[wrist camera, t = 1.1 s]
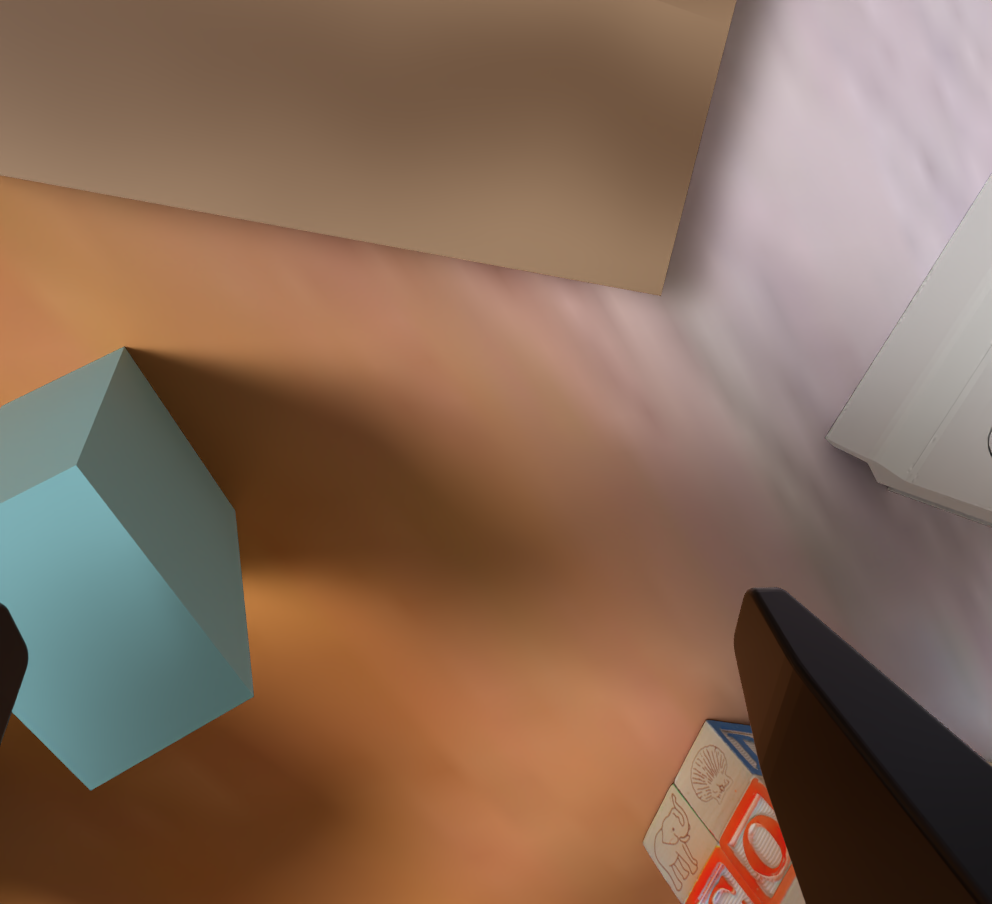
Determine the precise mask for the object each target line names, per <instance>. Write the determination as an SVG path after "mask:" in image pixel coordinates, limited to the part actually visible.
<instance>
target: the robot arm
mask: <svg viewBox="0 0 992 904" xmlns="http://www.w3.org/2000/svg"><path fill="white" fill-rule="evenodd" d="M734 650H735V656H736V660H737V665H738V669H739V674H740V679H741V683H742V688H743V693H744V697H745V702H746V706H747V711H748V716H749V720H750V725H751V729H752V734H753V739H754V743H755V748H756V752H757V756H758V761H759V765H760V769H761V772H762V775H763V779H764V782H765V785H766V788H767V791H768V794H769V797H770V800H771V803H772V806H773V809H774V812H775V815H776V818H777V821H778V824H779V827H780V830H781V833H782V836H783V839H784V842H785V845H786V848H787V850H788V853H789V856H790V859H791V862H792V865H793V868H794V871H795V874H796V877H797V880H798V883H799V886H800V889H801V892H802V895H803V898H804V901H805V904H992V766H991V765H990V764H989V763H988V762H986V761H985V760H984V759H983V758H982V757H981V756H979V755H978V754H977V753H976V752H975V751H973V750H972V749H971V748H970V747H969V746H968V745H966V744H965V743H964V742H963V741H962V740H961V739H959V738H958V737H957V736H956V735H955V734H953V733H952V732H951V731H950V730H949V729H948V728H946V727H945V726H944V725H943V724H942V723H941V722H939V721H938V720H937V719H936V718H935V717H933V716H932V715H931V714H930V713H929V712H928V711H926V710H925V709H924V708H923V707H922V706H921V705H919V704H918V703H917V702H916V701H915V700H914V699H912V698H911V697H910V696H909V695H908V694H906V693H905V692H904V691H903V690H902V689H901V688H899V687H898V686H897V685H896V684H895V683H894V682H892V681H891V680H890V679H889V678H888V677H886V676H885V675H884V674H883V673H882V672H881V671H879V670H878V669H877V668H876V667H875V666H874V665H872V664H871V663H870V662H869V661H868V660H866V659H865V658H864V657H863V656H862V655H861V654H859V653H858V652H857V651H856V650H855V649H854V648H852V647H851V646H850V645H849V644H848V643H847V642H845V641H844V640H843V639H842V638H841V637H839V636H838V635H837V634H836V633H835V632H834V631H832V630H831V629H830V628H829V627H828V626H827V625H825V624H824V623H823V622H822V621H821V620H819V619H818V618H817V617H816V616H815V615H814V614H812V613H811V612H810V611H809V610H808V609H807V608H805V607H804V606H803V605H802V604H801V603H799V602H798V601H797V600H796V599H795V598H794V597H792V596H791V595H790V594H789V593H788V592H786V591H785V590H783V589H781V588H777V587H772V588H751V589H749V590H747V592H746V593H745V595H744V598H743V602H742V606H741V610H740V614H739V618H738V622H737V626H736V630H735V634H734ZM27 666H28V649H27V646H26V643H25V641H24V639H23V637H22V635H21V633H20V631H19V629H18V627H17V625H16V623H15V622H14V620H13V618H12V616H11V614H10V612H9V610H8V608H7V607H6V606H5V605H3V604H2V603H0V745H1V742H2V739H3V736H4V733H5V730H6V728H7V725H8V722H9V719H10V716H11V713H12V710H13V707H14V704H15V701H16V699H17V696H18V693H19V690H20V687H21V684H22V681H23V678H24V675H25V672H26V670H27Z"/></svg>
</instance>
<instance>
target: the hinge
mask: <svg viewBox="0 0 992 904" xmlns="http://www.w3.org/2000/svg"><path fill="white" fill-rule="evenodd" d="M825 439H826V440H827V441H828V442H829V443H830V444H831V445H832V446H834V447H836V448H838V449H840V450H842V451H844V452H846V453H849V454H851V455H853V456H855V457H857V458H859V459H861V460H863V461H865V462H867V463H868V465H869V467H870V469H871V471H872V473H873V475H874V477H875V479H876V481H877V482H878V483H881V484H883V485H886V486H889V487H888V489H887V490H889V491H892V492H895V493H898V494H900V495H903V496H906V497H909V498H911V499H914V500H917V501H920V502H923V503H925V504H928V505H931V506H934V507H936V508H939V509H942V510H945V511H948V512H950V513H953V514H956V515H959V516H961V517H964V518H967V519H970V520H972V521H975V522H978V523H981V524H984V525H986V526H989V527H992V174H991V176H990V177H989V179H988V180H987V182H986V184H985V185H984V187H983V188H982V190H981V192H980V193H979V195H978V196H977V198H976V199H975V201H974V203H973V204H972V206H971V207H970V209H969V211H968V212H967V214H966V215H965V217H964V218H963V220H962V222H961V223H960V225H959V226H958V228H957V230H956V231H955V233H954V234H953V236H952V237H951V239H950V241H949V242H948V244H947V245H946V247H945V249H944V250H943V252H942V253H941V255H940V256H939V258H938V260H937V261H936V263H935V264H934V266H933V268H932V269H931V271H930V272H929V274H928V276H927V277H926V279H925V280H924V282H923V283H922V285H921V287H920V288H919V290H918V291H917V293H916V295H915V296H914V298H913V299H912V301H911V302H910V304H909V306H908V307H907V309H906V310H905V312H904V314H903V315H902V317H901V318H900V320H899V321H898V323H897V325H896V326H895V328H894V329H893V331H892V333H891V334H890V336H889V337H888V339H887V340H886V342H885V344H884V345H883V347H882V348H881V350H880V352H879V353H878V355H877V356H876V358H875V360H874V361H873V363H872V364H871V366H870V367H869V369H868V371H867V372H866V374H865V375H864V377H863V379H862V380H861V382H860V383H859V385H858V386H857V388H856V390H855V391H854V393H853V394H852V396H851V398H850V399H849V401H848V402H847V404H846V405H845V407H844V409H843V410H842V412H841V413H840V415H839V417H838V418H837V420H836V421H835V423H834V424H833V426H832V428H831V429H830V431H829V432H828V434H827V436H826V437H825Z"/></svg>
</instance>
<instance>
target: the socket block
mask: <svg viewBox="0 0 992 904" xmlns="http://www.w3.org/2000/svg"><path fill="white" fill-rule="evenodd" d="M735 4H736V0H0V175H2V176H7V177H13V178H18V179H24V180H29V181H35V182H40V183H46V184H51V185H57V186H62V187H68V188H73V189H79V190H84V191H90V192H95V193H101V194H106V195H111V196H117V197H122V198H128V199H133V200H139V201H144V202H150V203H155V204H161V205H166V206H172V207H177V208H183V209H188V210H194V211H199V212H205V213H210V214H216V215H221V216H226V217H232V218H237V219H243V220H248V221H254V222H259V223H265V224H270V225H276V226H281V227H287V228H292V229H298V230H303V231H309V232H314V233H320V234H325V235H331V236H336V237H341V238H347V239H352V240H358V241H363V242H369V243H374V244H380V245H385V246H391V247H396V248H402V249H407V250H413V251H418V252H424V253H429V254H435V255H440V256H446V257H451V258H456V259H462V260H467V261H473V262H478V263H484V264H489V265H495V266H500V267H506V268H511V269H517V270H522V271H528V272H533V273H539V274H544V275H550V276H555V277H561V278H566V279H571V280H577V281H582V282H588V283H593V284H599V285H604V286H610V287H615V288H621V289H626V290H632V291H637V292H643V293H648V294H654V295H659V296H661V293H662V289H663V285H664V281H665V277H666V273H667V270H668V266H669V262H670V258H671V254H672V250H673V246H674V242H675V238H676V234H677V231H678V227H679V223H680V219H681V215H682V211H683V207H684V203H685V199H686V195H687V192H688V188H689V184H690V180H691V176H692V172H693V168H694V164H695V160H696V156H697V153H698V149H699V145H700V141H701V137H702V133H703V129H704V125H705V121H706V117H707V114H708V110H709V106H710V102H711V98H712V94H713V90H714V86H715V82H716V78H717V75H718V71H719V67H720V63H721V59H722V55H723V51H724V47H725V43H726V39H727V36H728V32H729V28H730V24H731V20H732V16H733V12H734V8H735Z"/></svg>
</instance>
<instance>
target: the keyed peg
mask: <svg viewBox="0 0 992 904" xmlns="http://www.w3.org/2000/svg"><path fill="white" fill-rule="evenodd" d="M0 603H2V604H3V605H5V606H6V607H7V608H8V610H9V612H10V614H11V616H12V618H13V620H14V622H15V623H16V625H17V627H18V629H19V631H20V633H21V635H22V637H23V639H24V641H25V643H26V646H27V649H28V666H27V670H26V672H25V675H24V678H23V681H22V684H21V687H20V690H19V693H18V696H17V699H16V701H15V704H14V707H13V710H12V713H13V714H14V715H15V716H16V717H17V718H18V719H19V720H20V721H21V722H22V723H23V724H24V725H25V726H26V727H27V728H28V729H29V730H30V731H31V732H32V733H33V734H34V735H35V736H36V737H37V738H38V739H39V740H40V741H41V742H42V743H43V744H44V745H45V746H46V747H47V748H48V749H49V750H50V751H51V752H52V753H53V754H54V755H55V756H56V757H57V758H58V759H59V760H60V761H61V762H62V763H63V764H64V765H65V766H66V767H67V768H68V769H69V770H70V771H71V772H72V773H73V774H74V775H75V776H76V777H77V778H78V779H79V780H80V781H81V782H82V783H83V784H84V785H85V786H86V787H87V788H88V789H89V790H90V791H91V790H93V789H94V788H96V787H98V786H100V785H101V784H103V783H105V782H107V781H108V780H110V779H112V778H114V777H115V776H117V775H119V774H120V773H122V772H124V771H126V770H127V769H129V768H131V767H133V766H134V765H136V764H138V763H140V762H141V761H143V760H145V759H146V758H148V757H150V756H152V755H153V754H155V753H157V752H159V751H160V750H162V749H164V748H165V747H167V746H169V745H171V744H172V743H174V742H176V741H178V740H179V739H181V738H183V737H185V736H186V735H188V734H190V733H191V732H193V731H195V730H197V729H198V728H200V727H202V726H204V725H205V724H207V723H209V722H210V721H212V720H214V719H216V718H217V717H219V716H221V715H223V714H224V713H226V712H228V711H230V710H231V709H233V708H235V707H236V706H238V705H240V704H242V703H243V702H245V701H247V700H249V699H250V698H252V697H254V692H253V682H252V672H251V662H250V652H249V642H248V632H247V622H246V612H245V602H244V592H243V583H242V573H241V563H240V553H239V543H238V533H237V523H236V513H235V510H234V508H233V507H232V505H231V504H230V502H229V501H228V499H227V498H226V496H225V495H224V493H223V492H222V490H221V489H220V487H219V486H218V484H217V483H216V482H215V480H214V479H213V477H212V476H211V474H210V473H209V471H208V470H207V468H206V467H205V465H204V464H203V462H202V461H201V459H200V458H199V456H198V455H197V453H196V452H195V450H194V449H193V447H192V446H191V444H190V443H189V441H188V440H187V439H186V437H185V436H184V434H183V433H182V431H181V430H180V428H179V427H178V425H177V424H176V422H175V421H174V419H173V418H172V416H171V415H170V413H169V412H168V410H167V409H166V407H165V406H164V404H163V403H162V401H161V400H160V398H159V397H158V396H157V394H156V393H155V391H154V390H153V388H152V387H151V385H150V384H149V382H148V381H147V379H146V378H145V376H144V375H143V373H142V372H141V370H140V369H139V367H138V366H137V364H136V363H135V361H134V360H133V358H132V357H131V355H130V354H129V353H128V351H127V350H126V348H125V347H122V348H120V349H118V350H116V351H114V352H112V353H110V354H108V355H106V356H104V357H102V358H100V359H98V360H96V361H94V362H91V363H89V364H87V365H85V366H83V367H81V368H79V369H77V370H75V371H73V372H71V373H69V374H67V375H65V376H63V377H61V378H59V379H57V380H54V381H52V382H50V383H48V384H46V385H44V386H42V387H40V388H38V389H36V390H34V391H32V392H30V393H28V394H26V395H24V396H22V397H20V398H18V399H15V400H13V401H11V402H9V403H7V404H5V405H3V406H2V407H1V408H0Z"/></svg>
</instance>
